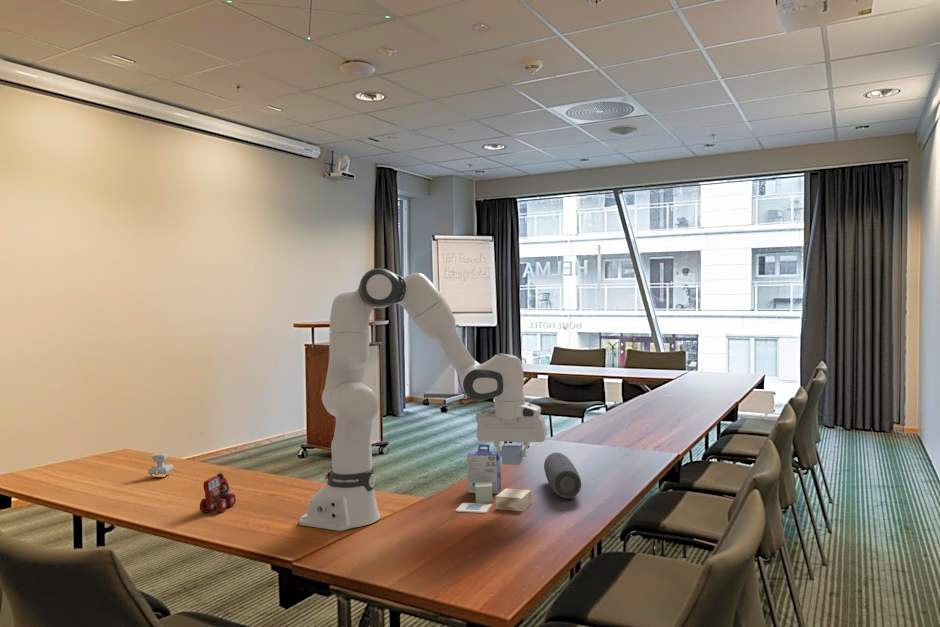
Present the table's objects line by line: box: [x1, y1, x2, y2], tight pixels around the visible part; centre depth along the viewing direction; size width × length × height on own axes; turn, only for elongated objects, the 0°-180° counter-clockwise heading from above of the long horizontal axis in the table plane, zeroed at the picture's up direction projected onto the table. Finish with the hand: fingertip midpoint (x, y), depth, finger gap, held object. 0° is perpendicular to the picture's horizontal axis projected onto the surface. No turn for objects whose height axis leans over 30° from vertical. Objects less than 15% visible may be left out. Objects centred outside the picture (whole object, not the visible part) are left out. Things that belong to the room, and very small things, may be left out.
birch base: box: [495, 488, 532, 512], centre depth 188 cm, size 8×8×4 cm
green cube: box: [474, 481, 494, 504], centre depth 194 cm, size 5×5×5 cm
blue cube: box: [500, 442, 524, 466], centre depth 188 cm, size 5×5×5 cm
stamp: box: [147, 452, 175, 476], centre depth 240 cm, size 9×7×8 cm
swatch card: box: [455, 502, 493, 514], centre depth 187 cm, size 9×7×1 cm
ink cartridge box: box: [466, 443, 502, 495], centre depth 203 cm, size 10×6×14 cm, turn 75°
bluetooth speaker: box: [543, 452, 582, 499], centre depth 200 cm, size 23×9×10 cm, turn 0°
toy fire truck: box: [199, 472, 237, 513], centre depth 197 cm, size 7×12×10 cm, turn 172°
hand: (512, 456), depth 188 cm, fingers closed on blue cube, 5 cm apart
